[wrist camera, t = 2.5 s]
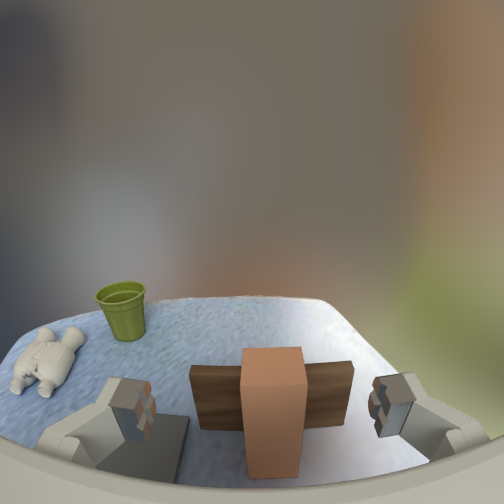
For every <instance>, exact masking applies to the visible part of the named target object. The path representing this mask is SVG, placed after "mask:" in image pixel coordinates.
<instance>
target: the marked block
mask: <svg viewBox="0 0 504 504" xmlns="http://www.w3.org/2000/svg"><path fill="white" fill-rule="evenodd" d="M307 388H308V382H307V376H306V371H305V365H304V360H303V354H302V349H301V347H278V348H243V357H242V369H241V380H240V392H241V404H242V415H243V426H244V437H245V447H246V457H247V467H248V477H249V479H273V478H295V477H298V470H299V463H300V455H301V447H302V438H303V429H304V420H305V410H306V399H307Z"/></svg>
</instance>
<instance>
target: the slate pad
mask: <svg viewBox="0 0 504 504" xmlns="http://www.w3.org/2000/svg"><path fill="white" fill-rule="evenodd" d="M189 422H190V419H189V416H176V415H165V414H155V418H154V421H153V422H152V423H150V424H149V426H150V429H151V431H150V434H149V437H148V440H147V442H139V441H131V440H125V442H124V443H122V444H121V445H120V446H119V447H118V448H117V449H115V450H114V451H113V452H112V453H111V454H109V455H108V456H107V457H106V458H105V459H103V460H102V461H101V462H100V463H99V464H97V465H96V466H95V467H96V468H97V469H98V470H102V471H106V472H110V473H114V474H119V475H124V476H129V477H134V478H139V479H145V480H151V481H158V482H165V483H172V484H175V481H176V477H177V473H178V468H179V464H180V460H181V456H182V451H183V447H184V443H185V439H186V435H187V430H188V426H189Z"/></svg>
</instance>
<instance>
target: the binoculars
mask: <svg viewBox="0 0 504 504" xmlns="http://www.w3.org/2000/svg"><path fill="white" fill-rule="evenodd" d="M55 340H56V337H55V334H54V333H53V331H52V330H50V329H49V328H46V327H41V328H40V329H39V330H38V331H37V335H36V338H35V341H34V342H32V343H30V344H29V345H28V346H27V347H26V348H25V350H24V351H23V352H22V354H21V355H20V357H19V358H18V360H17V362H16V364H15V365H14V370H13V372H14V377H13V379H12V381H11V382H10V384H9V389H10V390H11V391H12V392H13V393H14V394H16V395H20V394H21V392H22V390H23V389H24V387H28V386H30V385H31V384H33V383H34V382H35V381H36V379H39V380H40V384H39V386H38V388H37V391H38V393H39V394H40V395H41V396H42V397H45V398H49V397H50V396H51V394H52V392H53V390H54V389H55V388H57V387H59V386H61V385H62V384H63V383H64V381H65V379H66V377H67V375H68V372H69V370H70V368H71V366H72V364H73V362H74V360H75V354H74V352H75V351H76V350H77V349H78V348H79V347H80V346H82V345H83V343H84V341H85V337H84V334H83V333H82V331H81V330H80V329H78V328H76V327H69V328H67V330H66V331H65V335H64V337H63V339H62V340H61V342H55Z"/></svg>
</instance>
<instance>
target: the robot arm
mask: <svg viewBox="0 0 504 504" xmlns="http://www.w3.org/2000/svg"><path fill="white" fill-rule="evenodd" d="M372 386H373V388H374V390H373V391H372V392H371V393H370V395H369V400H368V409H369V413H370V416H371V417H372V418H373V419H375V420H376V421H375V424H374V427H375V429H376V432H377V435H378V437H379V438H383V437H389V436H395V435H399V436H400V437H402V438H403V439H404V440H405V441H407V442H408V443H409V444H410V445H412V446H413V447H414V448H415V449H417V450H418V451H419V452H420V453H422V454H423V455H424V456H425V457H427V458H428V459H429V460H430V461H429V463H426V464H423V465H419V466H416V467H412V468H408V469H404V470H400V471H396V472H392V473H388V474H383V475H378V476H373V477H368V478H363V479H357V480H351V481H344V482H337V483H330V484H321V485H312V486H300V487H285V488H216V487H201V486H190V485H181V484H172V483H165V482H158V481H151V480H145V479H139V478H134V477H129V476H124V475H119V474H114V473H110V472H106V471H102V470H98V469H97V468H96V467H95V466H96V465H97V464H99V463H100V462H101V461H102V460H103V459H105V458H106V457H107V456H108V455H109V454H111V453H112V452H113V451H114V450H115V449H117V448H118V447H119V446H120V445H121V444H122V443H124V442H125V440H131V441H139V442H147V440H148V437H149V434H150V431H151V429H150V426H149V424H150V423H152V422H153V421H154V418H155V414H156V403H155V399H154V397H153V396H152V395H151V394H150V392H151V390H152V388H151V385H150V382H148V381H143V380H135V379H128V378H119V377H110V378H109V379H108V381H107V382H106V384H105V386H104V388H103V389H102V391H101V393H100V395H99V397H98V398H97V400H96V402H95V404H93V403H91V404H89V405H87V406H86V407H84V408H82V409H80V410H78V411H77V412H75V413H73V414H71V415H69V416H68V417H66V418H64V419H62V420H60V421H59V422H57V423H55V424H53V425H51V426H49V427H47V428H46V429H45V431H44V432H43V434H42V436H41V437H40V439H39V441H38V442H37V444H36V446H35V447H34V449H31V448H29V447H26V446H24V445H21V444H19V443H16V442H14V441H12V440H9V439H7V438H5V437H3V436H1V435H0V504H504V435H502V436H499V437H497V438H495V439H493V440H490V438H489V437H488V435H487V434H486V432H485V431H484V429H483V428H482V426H481V424H480V423H479V421H478V420H476V419H474V418H472V417H470V416H468V415H466V414H464V413H462V412H460V411H458V410H456V409H454V408H453V407H451V406H449V405H447V404H445V403H443V402H441V401H439V400H437V399H435V398H433V397H431V398H429V396H428V395H427V393H426V391H425V390H424V388H423V386H422V385H421V383H420V382H419V380H418V378H417V377H416V375H415V374H414V372H412V371H410V372H404V373H400V374H393V375H387V376H380V377H375V379H374V381H373V384H372Z"/></svg>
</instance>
